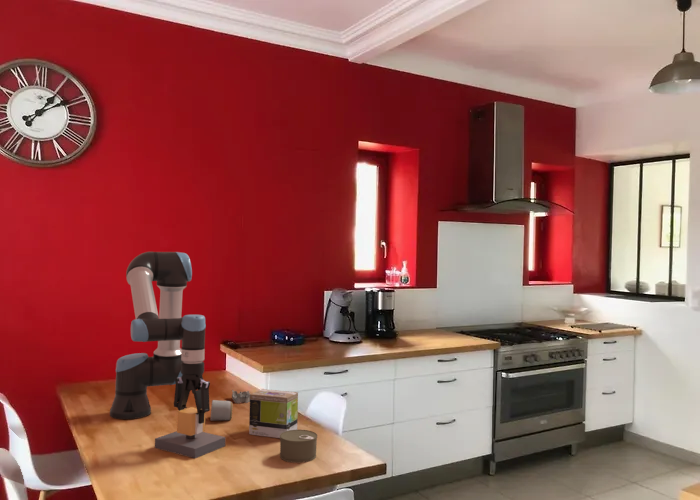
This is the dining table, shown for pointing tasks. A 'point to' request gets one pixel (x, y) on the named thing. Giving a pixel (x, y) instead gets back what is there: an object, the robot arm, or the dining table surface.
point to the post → (190, 437)
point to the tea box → (273, 412)
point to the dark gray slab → (190, 443)
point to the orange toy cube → (187, 421)
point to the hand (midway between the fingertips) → (190, 430)
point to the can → (298, 446)
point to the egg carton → (241, 397)
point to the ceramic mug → (221, 410)
